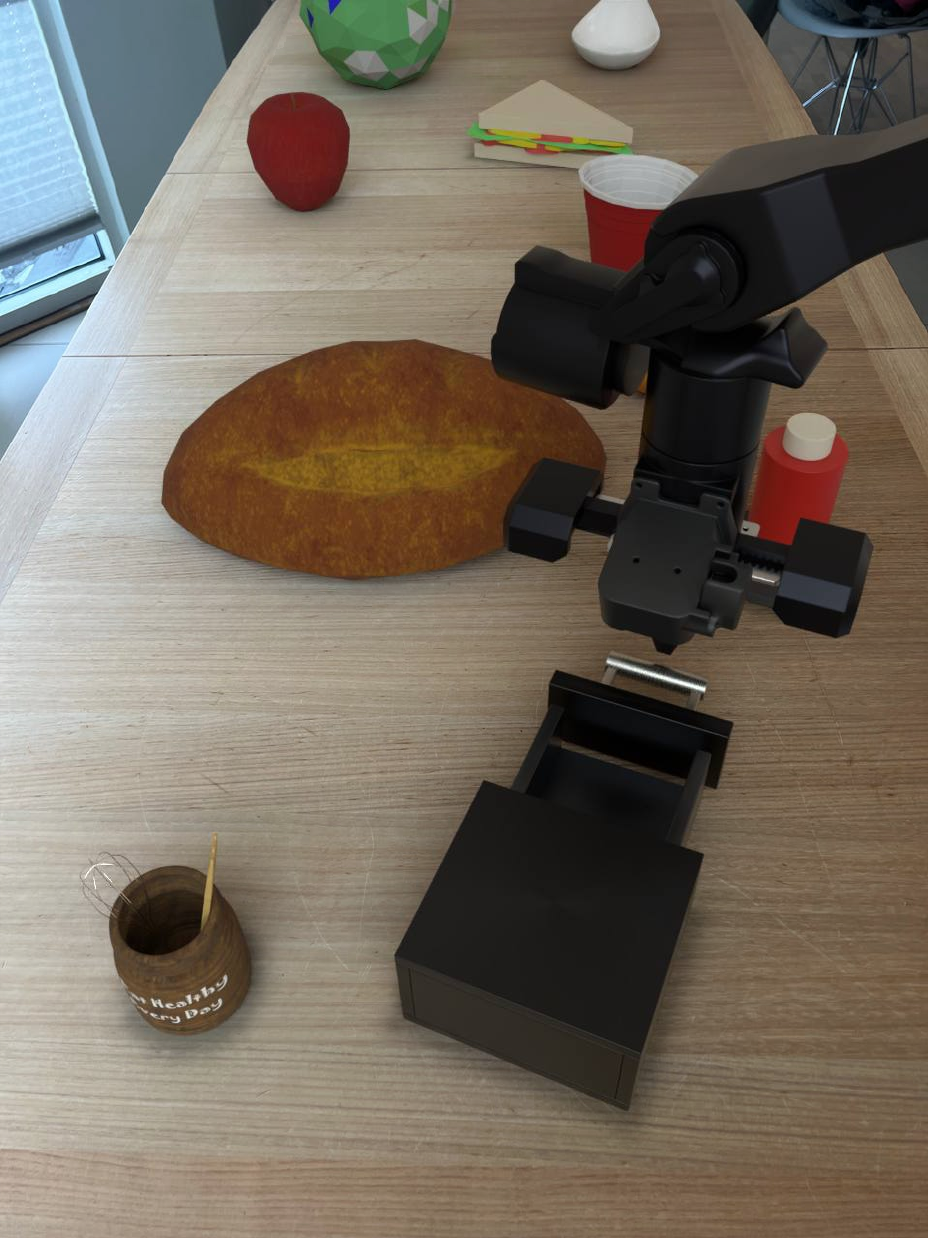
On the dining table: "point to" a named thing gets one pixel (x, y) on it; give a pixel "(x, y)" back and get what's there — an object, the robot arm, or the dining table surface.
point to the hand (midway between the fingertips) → (665, 649)
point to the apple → (299, 148)
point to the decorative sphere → (378, 37)
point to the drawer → (627, 748)
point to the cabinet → (549, 941)
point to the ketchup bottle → (797, 476)
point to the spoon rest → (617, 34)
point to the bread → (368, 460)
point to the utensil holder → (178, 947)
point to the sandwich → (548, 129)
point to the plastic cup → (627, 203)
